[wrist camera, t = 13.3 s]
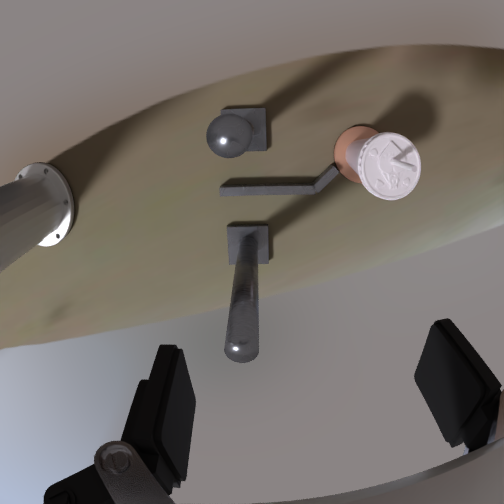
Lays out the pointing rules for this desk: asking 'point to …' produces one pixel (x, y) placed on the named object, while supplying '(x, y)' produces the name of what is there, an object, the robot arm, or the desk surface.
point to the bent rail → (281, 186)
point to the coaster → (342, 145)
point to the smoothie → (385, 164)
